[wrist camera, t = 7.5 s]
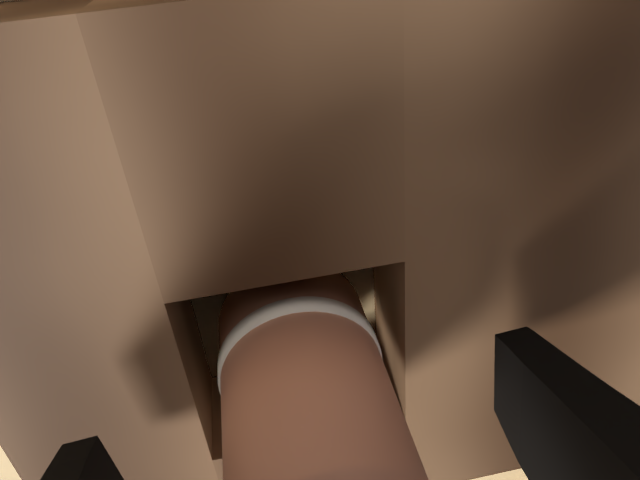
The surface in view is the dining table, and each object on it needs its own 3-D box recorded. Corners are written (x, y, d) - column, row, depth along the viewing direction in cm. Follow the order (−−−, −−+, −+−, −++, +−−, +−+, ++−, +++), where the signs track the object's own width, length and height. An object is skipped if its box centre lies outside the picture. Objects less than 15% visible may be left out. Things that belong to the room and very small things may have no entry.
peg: (338, 217, 12) (429, 436, 7) (362, 324, 14) (450, 559, 9) (195, 258, 12) (187, 508, 7) (239, 360, 14) (257, 618, 9)
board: (757, -86, 10) (897, -85, 8) (624, 366, 17) (684, 432, 15) (-135, 18, 9) (-244, 52, 7) (94, 475, 15) (75, 566, 13)
